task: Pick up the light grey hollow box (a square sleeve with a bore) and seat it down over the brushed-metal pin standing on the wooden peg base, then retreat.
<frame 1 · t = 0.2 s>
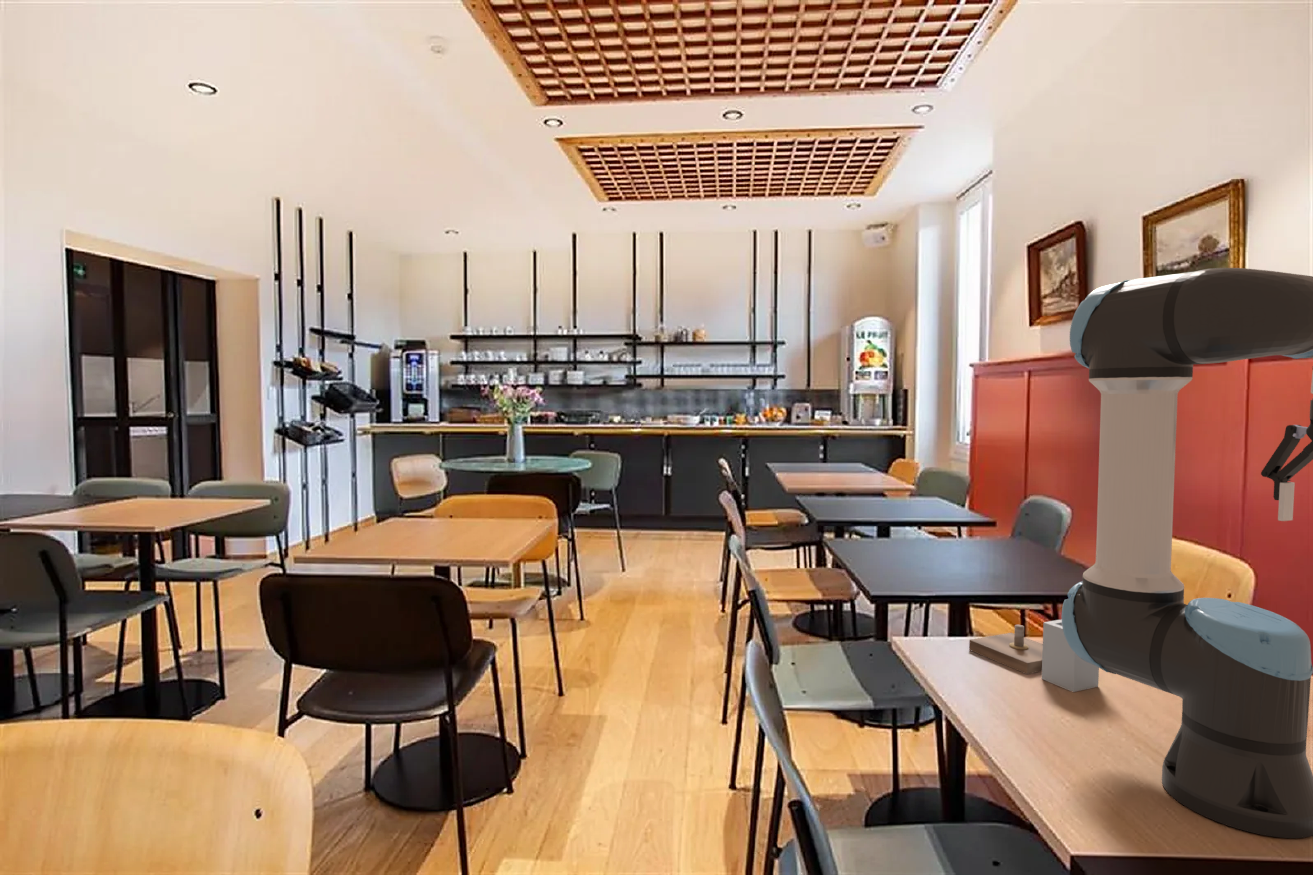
wooden peg base: (1018, 657, 134), on the table
light grey hollow box: (1069, 682, 122), on the table
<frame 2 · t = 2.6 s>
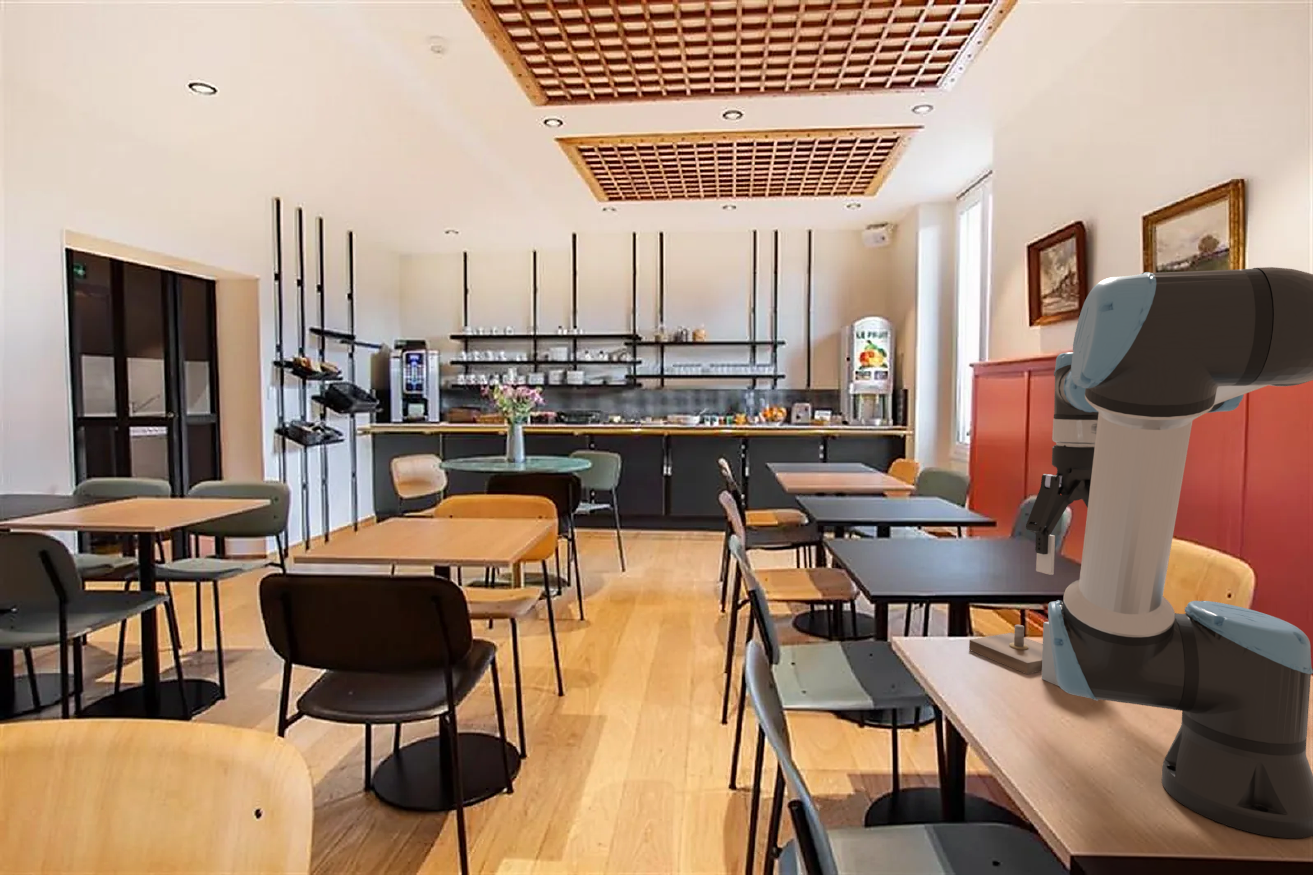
hand: (1073, 569, 121), 20 cm above the table, fingers open, 13 cm apart
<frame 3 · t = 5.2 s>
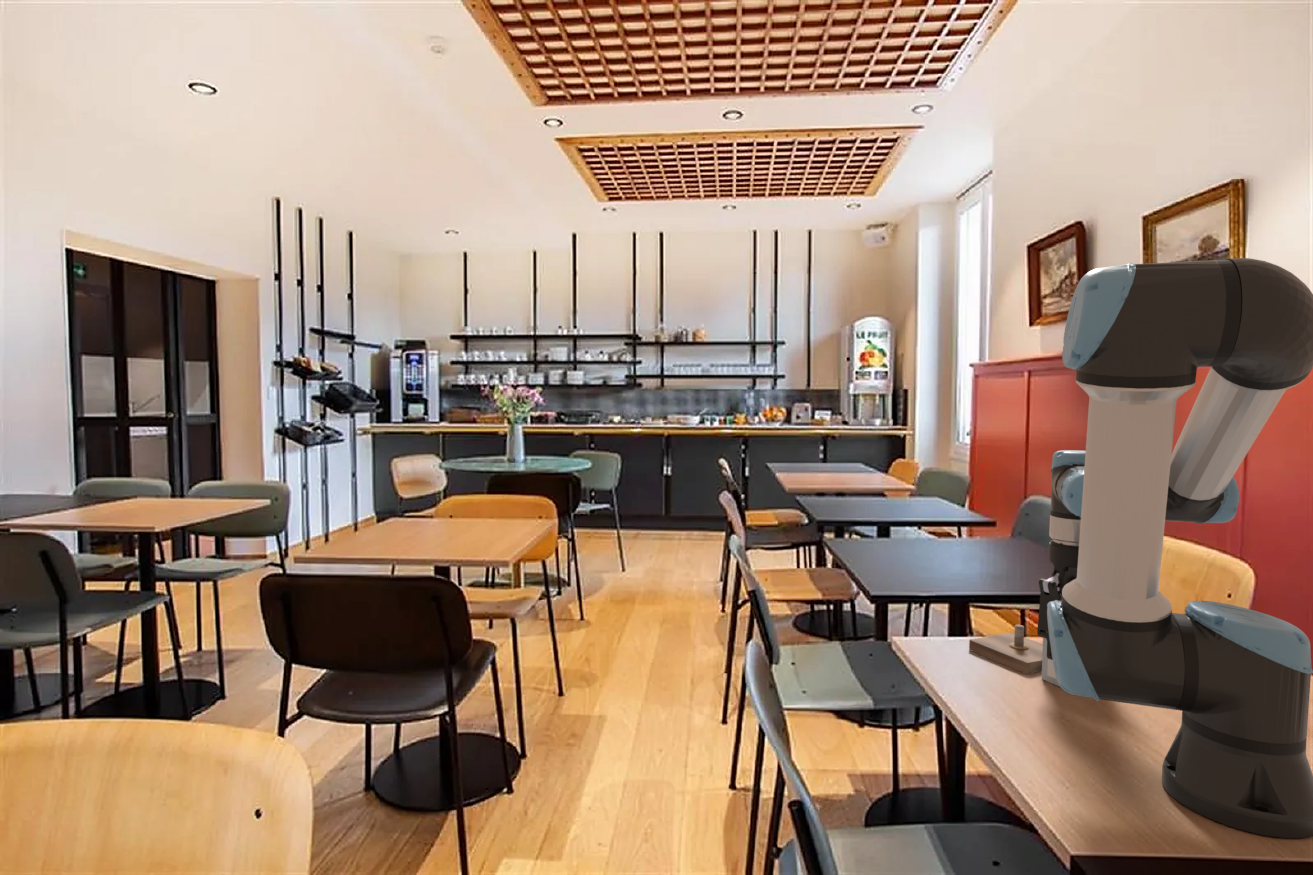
hand: (1069, 674, 122), 1 cm above the table, fingers closed on light grey hollow box, 6 cm apart
light grey hollow box: (1069, 682, 122), on the table, touching gripper
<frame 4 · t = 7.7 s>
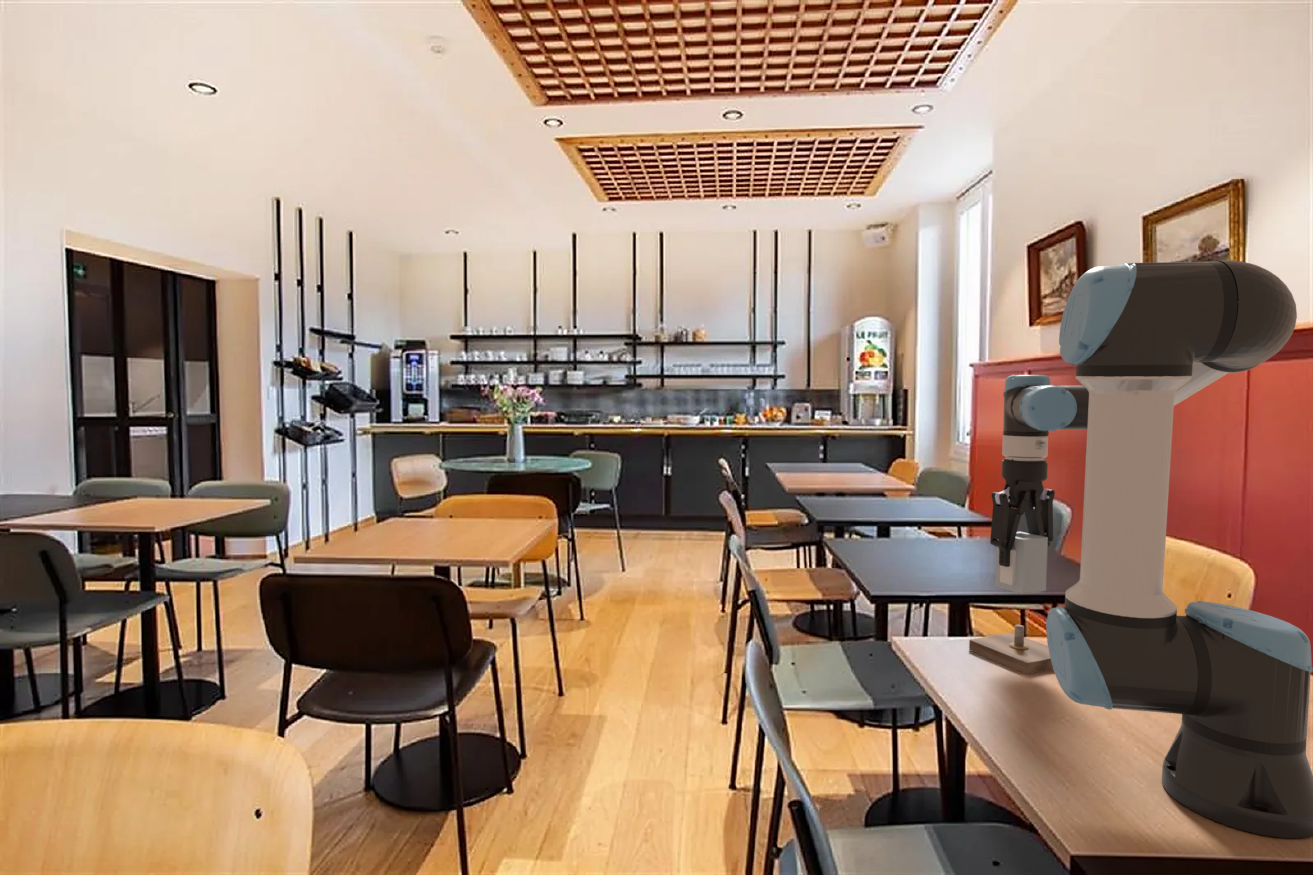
hand: (1020, 581, 134), 14 cm above the table, fingers closed on light grey hollow box, 6 cm apart
light grey hollow box: (1020, 588, 134), point 13 cm above the table, touching gripper
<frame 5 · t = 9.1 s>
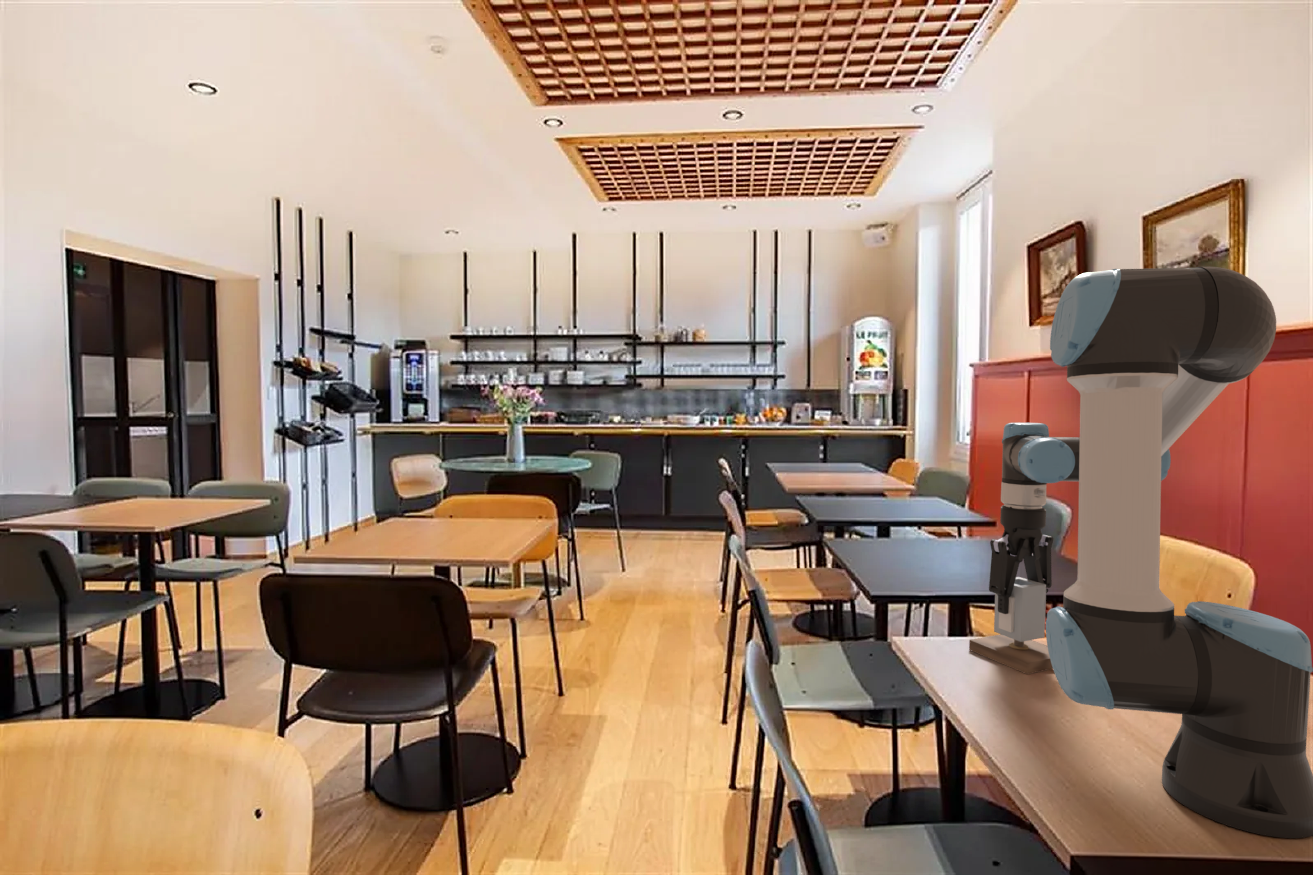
hand: (1019, 627, 134), 6 cm above the table, fingers closed on light grey hollow box, 6 cm apart
light grey hollow box: (1018, 634, 134), point 4 cm above the table, touching gripper
when the fingers open (4 cm above the table, at t = 10.2 s): light grey hollow box stays where it is, resting on wooden peg base.
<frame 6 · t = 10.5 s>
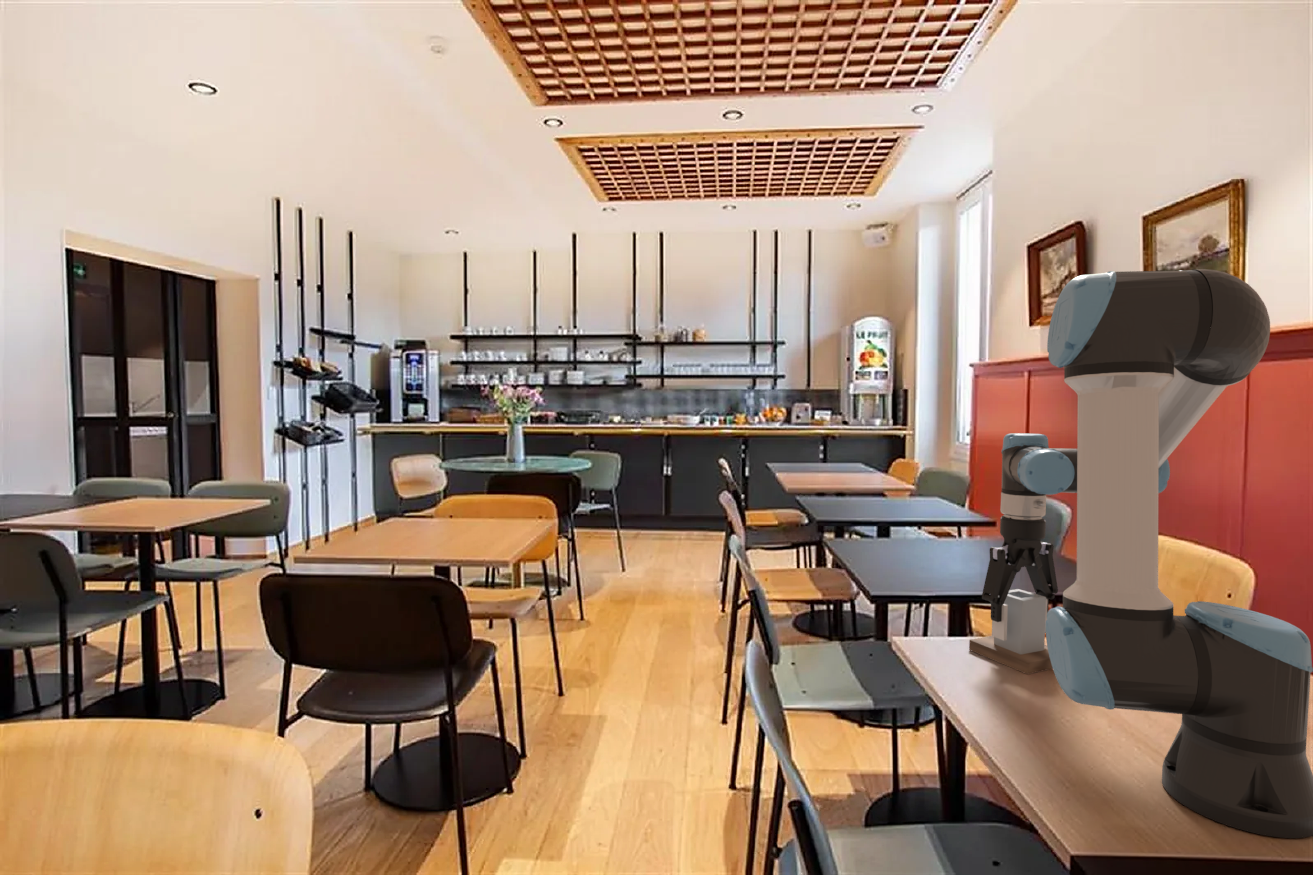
hand: (1019, 634, 134), 4 cm above the table, fingers open, 9 cm apart
light grey hollow box: (1018, 647, 134), point 2 cm above the table, touching wooden peg base
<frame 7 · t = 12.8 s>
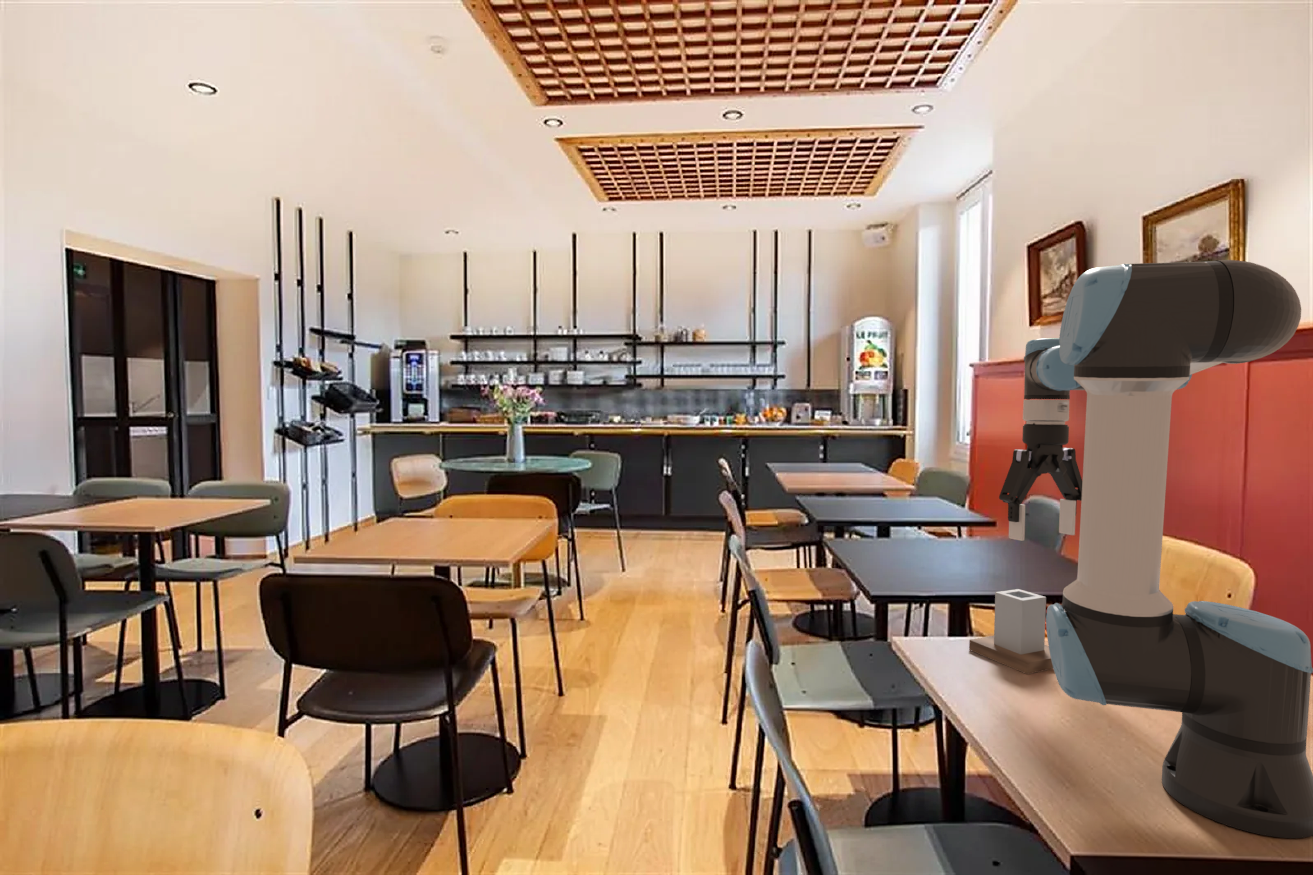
hand: (1042, 536, 133), 23 cm above the table, fingers open, 13 cm apart
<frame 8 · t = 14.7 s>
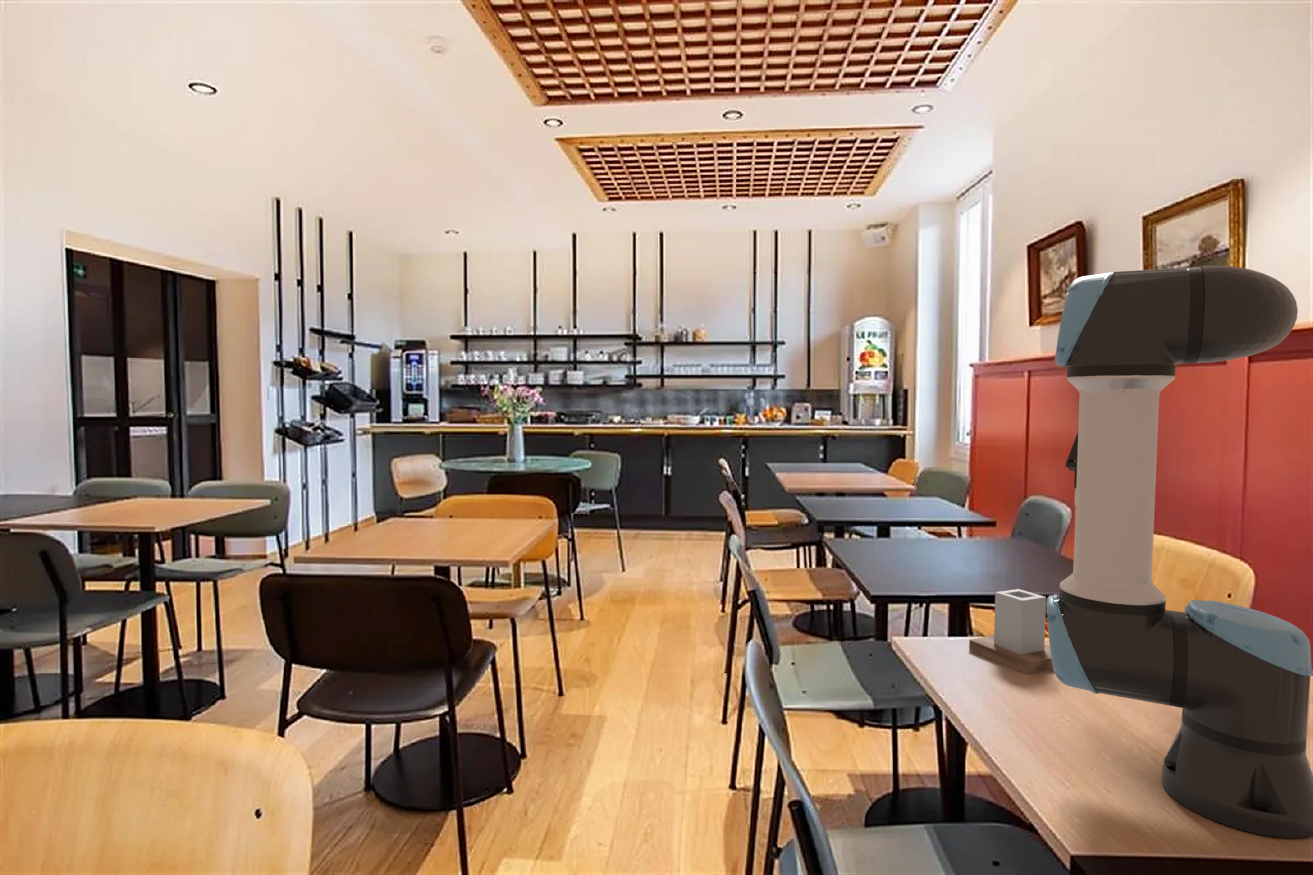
hand: (1107, 504, 134), 29 cm above the table, fingers open, 13 cm apart
at the end: light grey hollow box 0.0 cm off-centre on the wooden peg base, point 2.0 cm above the wooden peg base's base; light grey hollow box tilted 0°; the gripper is holding nothing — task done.
